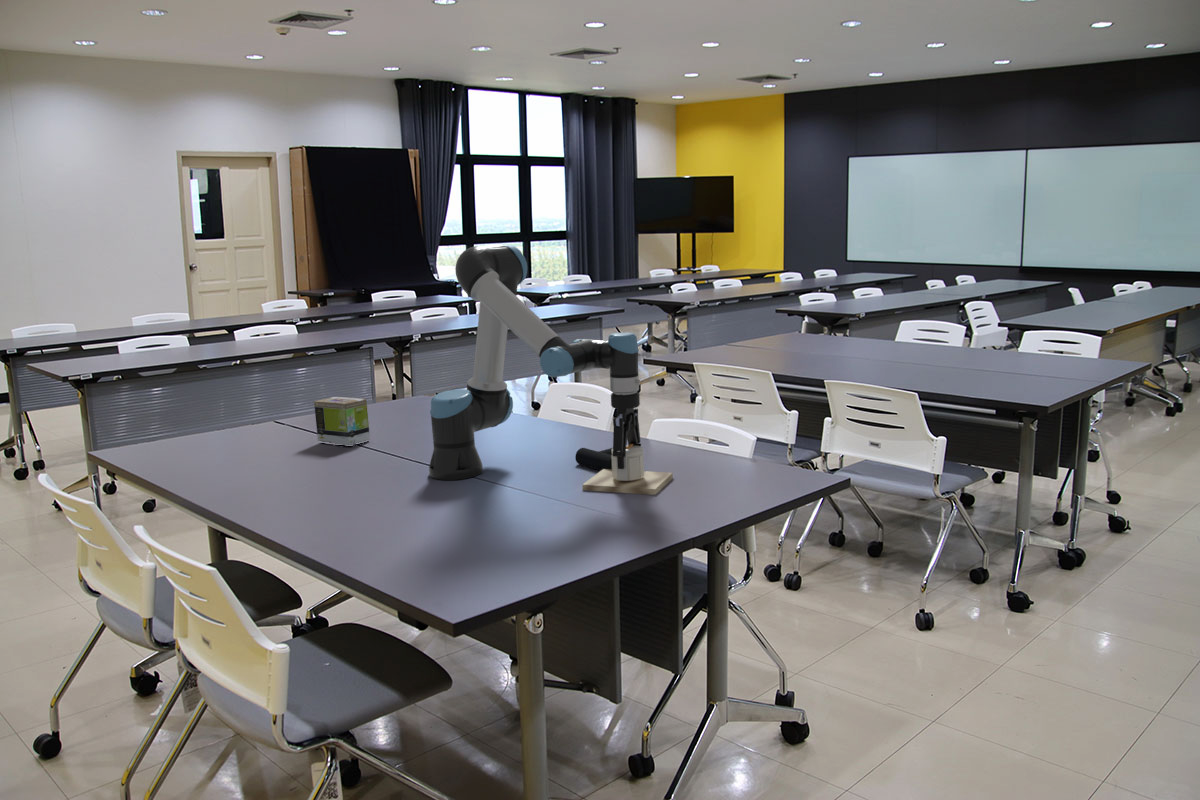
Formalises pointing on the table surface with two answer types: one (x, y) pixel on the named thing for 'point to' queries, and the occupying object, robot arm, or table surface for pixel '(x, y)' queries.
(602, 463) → the pipe connector
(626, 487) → the shaft base
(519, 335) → the robot arm
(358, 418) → the tea box
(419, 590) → the table surface
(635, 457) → the knob
